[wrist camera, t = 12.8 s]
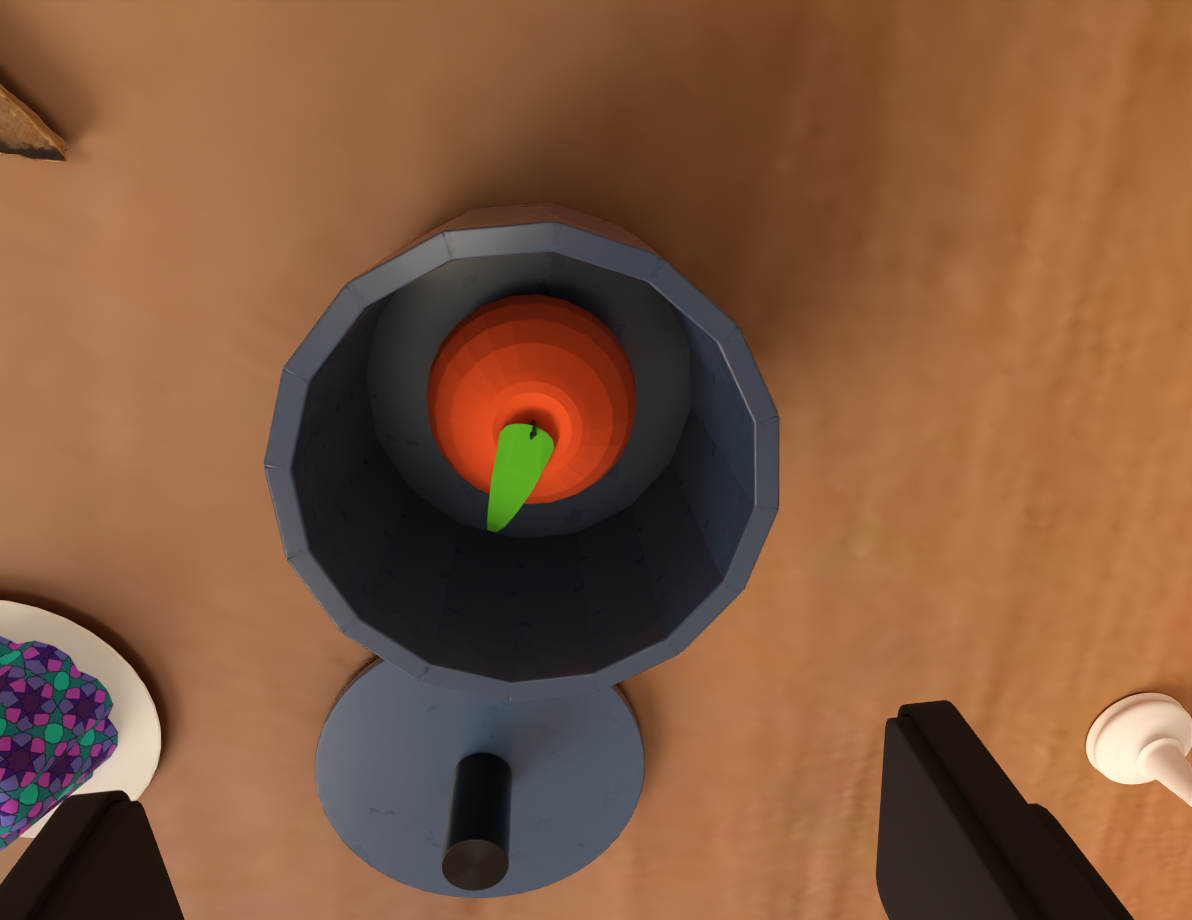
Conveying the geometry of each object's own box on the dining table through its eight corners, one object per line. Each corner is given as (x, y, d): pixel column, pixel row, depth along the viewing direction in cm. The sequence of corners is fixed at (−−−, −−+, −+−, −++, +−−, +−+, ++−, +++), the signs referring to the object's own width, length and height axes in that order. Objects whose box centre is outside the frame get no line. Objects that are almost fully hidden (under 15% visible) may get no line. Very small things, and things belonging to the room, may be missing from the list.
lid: (631, 602, 34) (650, 689, 28) (650, 858, 39) (669, 974, 34) (290, 639, 34) (241, 734, 28) (354, 893, 39) (323, 1017, 33)
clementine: (580, 506, 32) (592, 598, 25) (409, 455, 31) (374, 536, 24) (652, 316, 29) (686, 361, 23) (469, 252, 28) (448, 280, 21)
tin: (700, 187, 28) (780, 200, 19) (710, 528, 33) (779, 673, 24) (319, 221, 28) (210, 250, 19) (385, 562, 33) (325, 723, 23)
